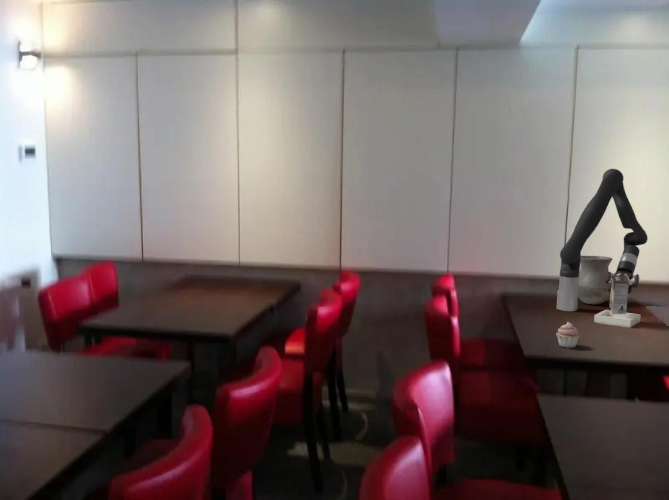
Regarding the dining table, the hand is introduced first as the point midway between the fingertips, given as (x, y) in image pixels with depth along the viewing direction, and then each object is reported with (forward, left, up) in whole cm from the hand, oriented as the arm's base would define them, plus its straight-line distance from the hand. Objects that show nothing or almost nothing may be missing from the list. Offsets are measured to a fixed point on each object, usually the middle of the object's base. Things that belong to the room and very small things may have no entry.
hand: (618, 292), depth 309 cm
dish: (0, +1, -15) cm, 15 cm away
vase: (-24, +38, -15) cm, 48 cm away
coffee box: (0, +1, -9) cm, 9 cm away
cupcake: (-2, -57, -15) cm, 59 cm away
